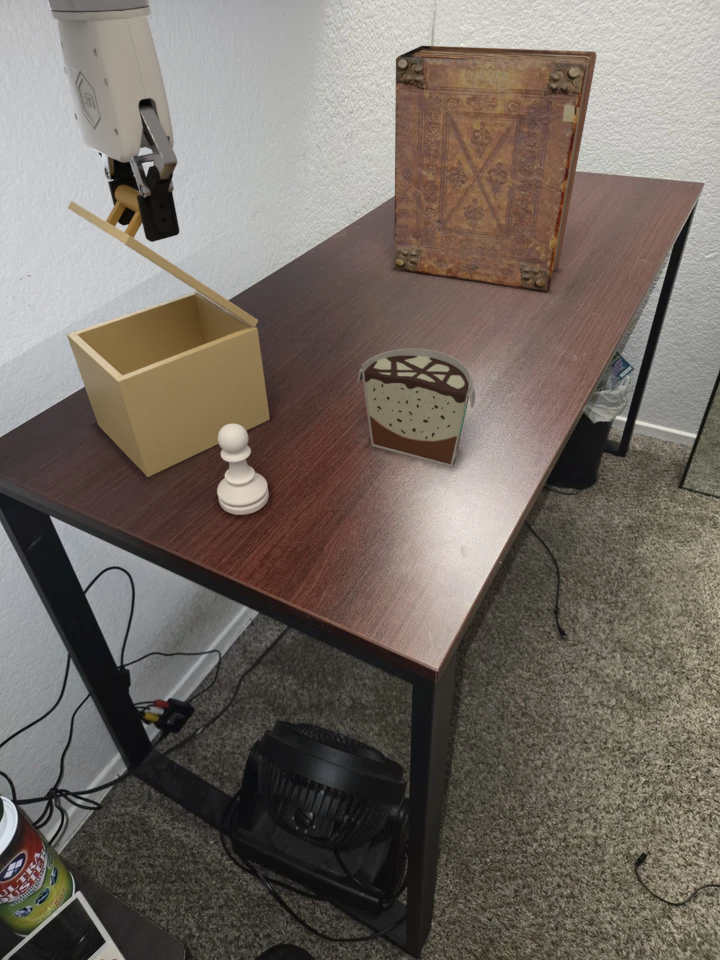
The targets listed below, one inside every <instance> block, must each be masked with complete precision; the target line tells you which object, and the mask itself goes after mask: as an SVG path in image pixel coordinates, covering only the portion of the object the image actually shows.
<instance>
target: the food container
mask: <svg viewBox="0 0 720 960" xmlns="http://www.w3.org/2000/svg"><path fill="white" fill-rule="evenodd" d="M360 381H362V384H363V393H364V398H365V399H364V401H365V407H366V414H367V423H368V431H369V437H370V438H369V439H370V444H371V447H373V448H376V449H381V450H384V451H388V452H392V453H396V454H399V455H404V456H407V457H411V458H414V459H418V460H422V461H427V462H429V463H433V464H436V465H437V464H438V465H441V466H446V467H448V468H453V467H454V464H455V461H456V458H457V454H458V448H459V444H460V440H461V436H462V431H463V426H464V422H465V417H466V412H467V408H468V404H469V402H470V408H471V409H473V408H474V405H475V403H476V392H475V384H474V380H473V377H472V374H471V372H470V369H468V367H467V366H466V365H465V364H464V363H463V362H461V360H459V359H457V358H456V357H454V356H451V355H449V354H448V353H445V352H441V351H438V350H432V349H426V348H399V349H392V350H388V351H385V352H382V353H379V354H376V355H374V356H371V357H370V358H369V359H367V360H366V361H364V362H363V363H362V364H361V368H360V369H359V371H358V376H357V382H358V383H360Z"/></svg>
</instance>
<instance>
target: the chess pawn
mask: <svg viewBox="0 0 720 960" xmlns="http://www.w3.org/2000/svg"><path fill="white" fill-rule="evenodd" d="M218 443H219V444H218V445H219V448H221V451H220V458H221V459H222V460H223V461H225V462H228V469H227V470H226V471H225V473H224V478H223V479H221V480H220V482H219V483H218V485H217V488H216V494H217V498H218V504H219V505H220V507H221V508H222V509H223V510H224V511H225V512H227V513H228V514H230V515H231V514H232V515H234V516H245V515H246V516H247V515H250V514H254V513H256V512H258V511H260V510H261V509H262V508H263V507H265V505H266V504H267V503H268V501H269V498H270V492H269V488H268V482H267V479H266V478H265V477H264V476H263V475H262V474H260V473H258V472H256V471H255V469H254V468H253V467H252V466H251V465H248V462H247V459H248V458H249V456H251V453H252V449H251V447H250V445H248V443H249V434H248V430H247V431H246V430H245V428H243V427H242V426H241V425H239V424H234V423H232V424H227V425H225V426H224V427H222V428H221V430H220V431H219V433H218Z"/></svg>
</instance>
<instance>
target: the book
mask: <svg viewBox="0 0 720 960" xmlns="http://www.w3.org/2000/svg"><path fill="white" fill-rule="evenodd" d="M597 57H598V56H597V53H596V51H594V50H593V51H590V50H588V51H587V50H563V49H561V50H560V49H531V48H504V47H503V48H501V47H499V48H498V47H473V46H471V47H470V46H446V45H445V46H442V45H441V46H440V45H420V46H418V47H416V48H414V49H410V50H409V51H407V52H404V53H402V54H400V55H397V57H396V58H395V111H394V112H395V113H394V115H395V117H394V119H395V122H394V123H395V128H394V129H395V131H394V132H395V133H394V134H395V136H394V137H395V138H394V139H395V140H394V150H395V151H394V155H395V156H394V250H393V251H394V256H393V257H394V261H393V265H394V267H393V268H394V269H395V270H399V271H406V272H410V273H411V272H412V273H418V274H425V275H431V276H437V277H443V278H451V279H456V280H463V281H468V282H469V281H470V282H477V283H482V284H489V285H496V286H502V287H508V288H515V289H522V290H528V291H534V292H539V293H540V292H541V293H545V294H546V293H548V292H549V291H550V290H551V284H552V278H553V273H554V271H557V270H558V269H559V267H560V261H561V260H560V259H561V255H562V250H563V244H564V239H565V233H566V228H567V227H566V226H567V221H568V218H569V217H568V216H569V211H570V204H571V199H572V193H573V189H574V183H575V178H576V172H577V166H578V161H579V155H580V150H581V146H582V145H581V143H582V138H583V133H584V128H585V122H586V117H587V111H588V106H589V100H590V95H591V88H592V84H593V78H594V72H595V67H596V61H597Z"/></svg>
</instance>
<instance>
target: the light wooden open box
mask: <svg viewBox="0 0 720 960" xmlns="http://www.w3.org/2000/svg"><path fill="white" fill-rule="evenodd" d="M66 336H67V339H68V342H69V346H70V349H71V352H72V354H73V356H74V359H75V362H76V365H77V368H78V372H79V374H80V376H81V380H82V382H83V385H84V389H85V391H86V394H87V398H88V400H89V402H90V403H89V404H90V406H91V409H92V411H93V414H94V417H95V420H96V422H97V425H98V427H99V428H100V429H101V430H102V431H103V432H104V433H105V434H106V435H107V437H109V439H111V441H112V442H113V443H114V444H115V445H116V446H117V447H118V448H119V449H120V450H121V451H122V452H123V453H124V454H125V455H126V456H127V457H128V459H130V460H131V462H132V463H133V464H134V465H135V466H136V467H137V468H138V469H139V470H140V471H141V472H142V473H143V474H144V475H145V476H146V477H147V478H149V477H152V476H154V475H156V474H158V473H160V472H162V471H164V470H167V469H169V468H170V467H173V466H175V465H177V464H179V463H181V462H184V461H185V460H188V459H190V458H192V457H194V456H196V455H198V454H200V453H202V452H204V451H207V450H209V449H211V448H213V447H215V446H218V445H219V443H218V433H219V431H220V430H221V428H222V427H224V426H225V425H227V424H232V423H234V424H239V425H241V426H242V427H243V428H245V430H246V431H247V432H248V431H250V430H251V429H253V428H255V427H257V426H259V425H262V424H264V423H266V422H269V420H271V418H270V417H271V416H270V409H269V403H268V395H267V388H266V381H265V373H264V366H263V358H262V351H261V345H260V344H261V343H260V337H259V330H258V327H257V326H255V327H254V326H252V325H251V324H249V323H248V322H246V321H244V320H243V319H241V318H240V317H238V316H236V315H235V314H233V313H232V312H230V311H228V310H227V309H225V308H224V307H222V306H220V305H219V304H217V303H216V302H214V301H212V300H211V299H209V298H208V297H206V296H204V295H203V294H201V293H200V292H198V291H196V290H194V291H191V292H189V293H185V294H183V295H180V296H176V297H173V298H170V299H167V300H165V301H162V302H159V303H158V302H157V303H156V304H153V305H150V306H147V307H143V308H141V309H137V310H135V311H132V312H129V313H126V314H123V315H120V316H117V317H114V318H111V319H107V320H105V321H103V322H99V323H96V324H92V325H91V326H90V325H89V326H88V327H85V328H81V329H78V330H75V331H72V332H70V333H67V334H66Z"/></svg>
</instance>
